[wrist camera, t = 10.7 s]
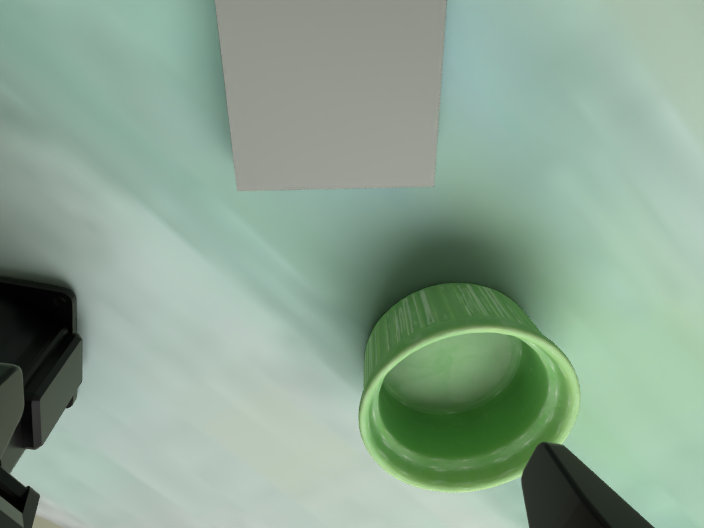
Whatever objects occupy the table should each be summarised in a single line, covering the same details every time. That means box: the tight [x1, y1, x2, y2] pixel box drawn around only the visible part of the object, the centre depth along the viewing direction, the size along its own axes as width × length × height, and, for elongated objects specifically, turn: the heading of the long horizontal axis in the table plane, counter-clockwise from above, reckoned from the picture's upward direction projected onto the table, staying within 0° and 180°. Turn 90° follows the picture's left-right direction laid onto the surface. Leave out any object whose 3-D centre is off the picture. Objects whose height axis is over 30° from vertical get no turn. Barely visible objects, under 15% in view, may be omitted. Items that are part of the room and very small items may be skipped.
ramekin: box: [359, 283, 580, 492], centre depth 23 cm, size 9×9×4 cm
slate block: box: [215, 0, 447, 191], centre depth 18 cm, size 7×7×2 cm
